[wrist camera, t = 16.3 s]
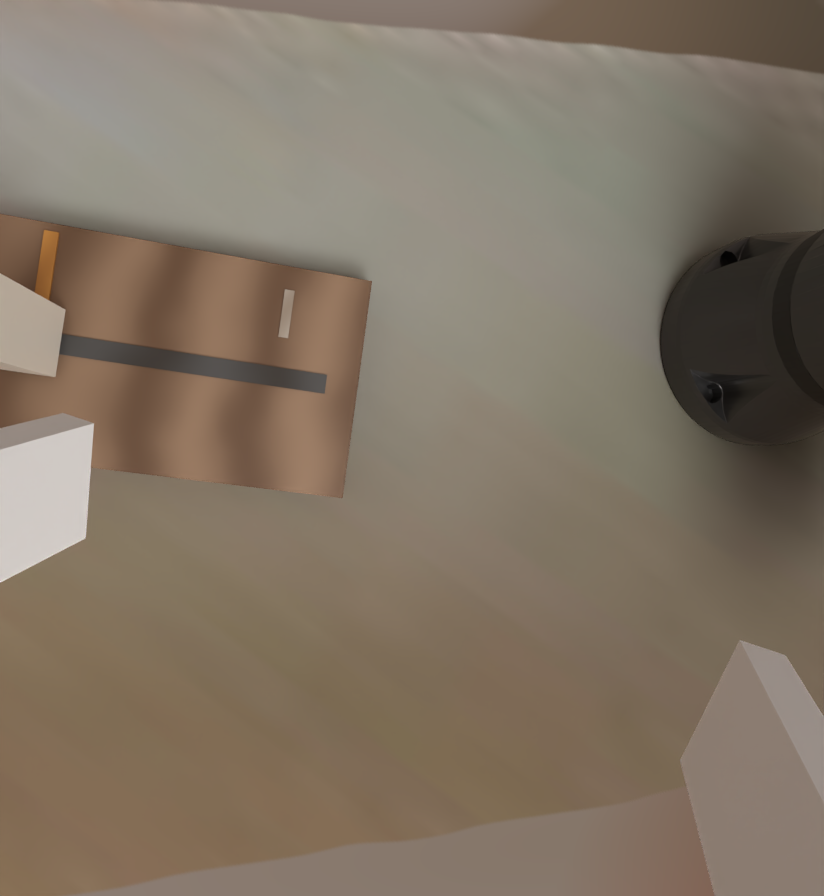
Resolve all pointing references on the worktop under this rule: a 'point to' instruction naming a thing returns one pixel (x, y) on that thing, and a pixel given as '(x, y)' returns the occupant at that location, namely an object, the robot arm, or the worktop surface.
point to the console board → (192, 358)
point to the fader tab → (28, 330)
